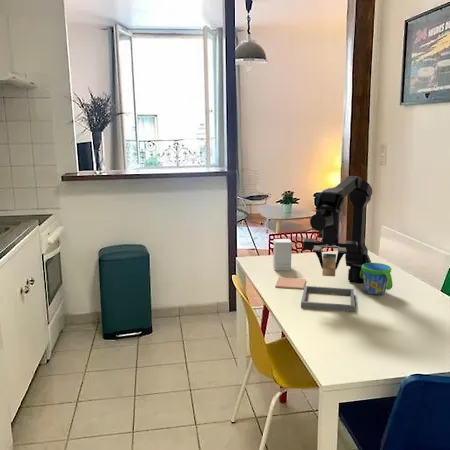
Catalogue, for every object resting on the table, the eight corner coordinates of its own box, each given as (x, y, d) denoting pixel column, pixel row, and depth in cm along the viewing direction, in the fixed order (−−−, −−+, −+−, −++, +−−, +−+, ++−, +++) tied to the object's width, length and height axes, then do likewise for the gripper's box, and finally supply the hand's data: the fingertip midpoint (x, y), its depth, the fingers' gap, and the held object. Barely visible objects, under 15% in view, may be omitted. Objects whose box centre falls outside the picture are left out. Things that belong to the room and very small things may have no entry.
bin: (353, 294, 183) (353, 289, 182) (354, 311, 165) (354, 306, 165) (304, 290, 187) (304, 285, 186) (300, 307, 169) (301, 302, 169)
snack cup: (399, 297, 179) (401, 270, 177) (374, 300, 176) (376, 273, 174) (374, 284, 193) (376, 259, 191) (351, 287, 190) (352, 262, 188)
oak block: (335, 272, 176) (336, 254, 174) (335, 276, 171) (335, 257, 170) (322, 272, 177) (323, 253, 175) (322, 275, 172) (323, 256, 171)
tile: (305, 280, 199) (305, 279, 198) (303, 289, 188) (303, 287, 188) (278, 278, 201) (278, 277, 201) (275, 287, 191) (275, 285, 190)
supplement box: (291, 270, 212) (291, 242, 210) (274, 270, 212) (274, 242, 210) (289, 265, 220) (290, 238, 217) (273, 265, 220) (273, 238, 217)
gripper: (357, 222, 176) (355, 264, 179) (305, 220, 180) (304, 261, 183) (358, 228, 165) (356, 272, 169) (303, 226, 170) (302, 269, 173)
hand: (329, 268), depth 174 cm, fingers closed on oak block, 4 cm apart
